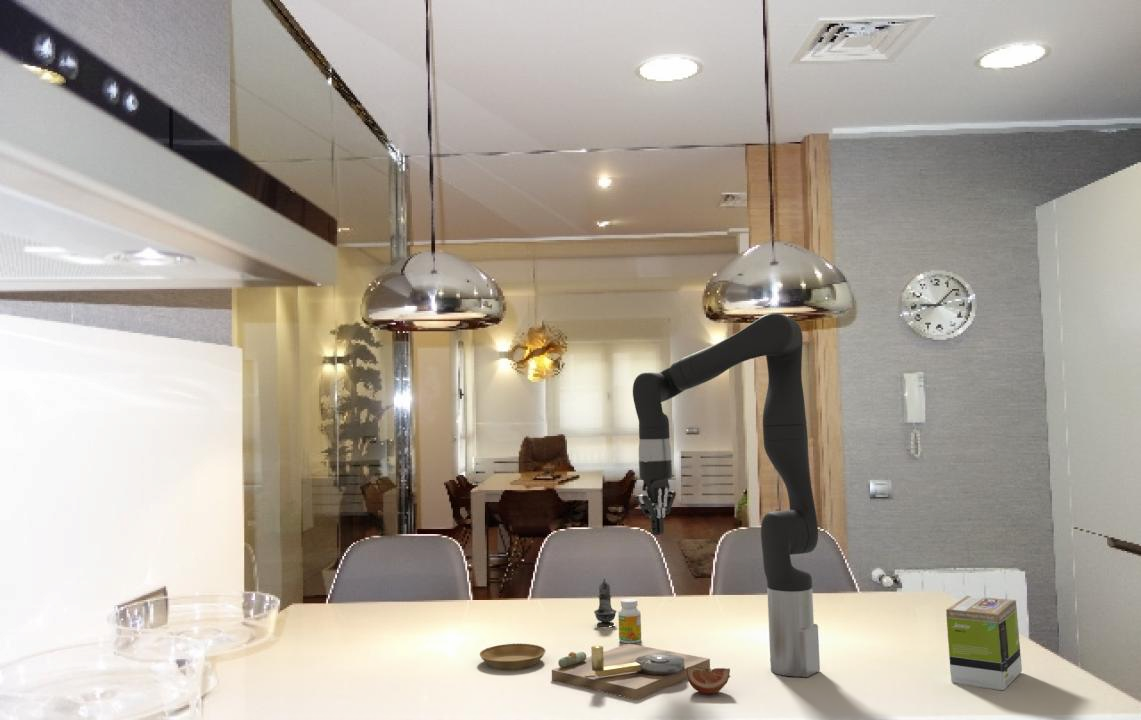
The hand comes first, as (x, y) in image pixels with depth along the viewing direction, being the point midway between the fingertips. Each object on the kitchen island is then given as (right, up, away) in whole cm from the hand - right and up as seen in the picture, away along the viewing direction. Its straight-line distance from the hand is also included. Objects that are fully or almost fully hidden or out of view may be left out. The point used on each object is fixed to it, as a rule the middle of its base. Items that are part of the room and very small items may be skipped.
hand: (657, 534), depth 202 cm
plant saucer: (-33, -28, -5) cm, 44 cm away
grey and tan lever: (-6, -23, -23) cm, 33 cm away
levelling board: (-7, -26, -17) cm, 32 cm away
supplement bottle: (-6, -28, +11) cm, 31 cm away
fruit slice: (+7, -25, -31) cm, 40 cm away
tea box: (+63, -24, -26) cm, 72 cm away
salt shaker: (-11, -29, +27) cm, 42 cm away
